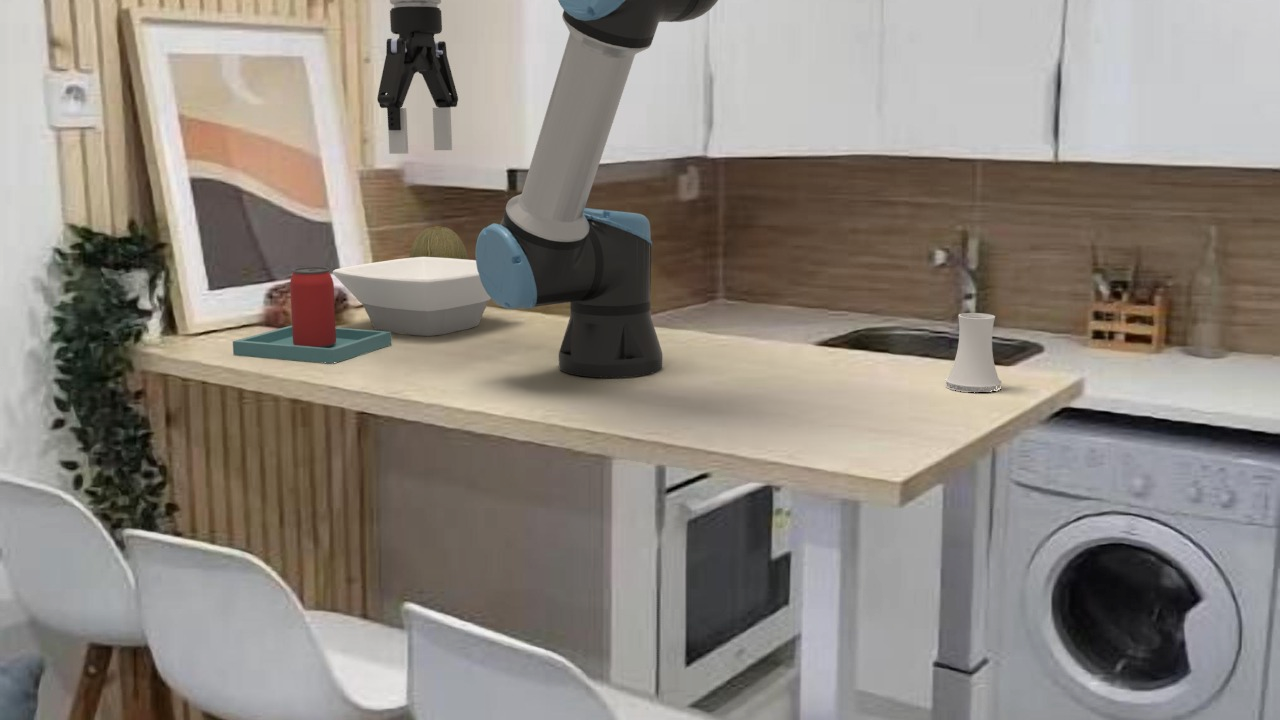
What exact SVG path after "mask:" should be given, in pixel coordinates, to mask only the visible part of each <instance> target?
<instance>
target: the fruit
mask: <svg viewBox="0 0 1280 720" xmlns="http://www.w3.org/2000/svg"><path fill="white" fill-rule="evenodd" d="M414 257H438V258H453V259H465V260H470V258H469V253H468V252H467V248H466V246H465V244H464V242H463V240H462V239H461V238H460V236H459V234H457V233H456V232H455V231H454V230H453V229H451V228H449V227H446V226H440V225H436V226H434V227H433V226H431V227H427V228H425V229H423V230H422V231H421V232H420V233H419V234H418V235H417V236H416V238H415V240H414V241H413V242H412V245H411V248H410V251H409V257H408V258H414Z"/></svg>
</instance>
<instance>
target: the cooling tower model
mask: <svg viewBox="0 0 1280 720" xmlns="http://www.w3.org/2000/svg"><path fill="white" fill-rule="evenodd" d="M957 317H958V325H959V326H958V329H959V333H958V335H959V336H958V344H957V351H956V354H955V358H954V361H953V365H952V368H951V370H950V372H949V374H948V376H947V377H946V378H945V379H944V381H945V384H944V387H945V386H946V387H947V389H948V388H949V390H951V391H955V390H956V391H955V392H960V391H961V392H962V393H968V392H974V393H973V394H976V393H975V392H990V391H991V390H992V391H994V389H995V390H997V389H998V388H1000V386H1001V385H1002V383H1003V382H1002V380H1000V378H999V376H998V373H997V370H996V365H995V362H994V361H995V360H994V355H993V354H994V353H993V331H994V324H995V318H996V315H993V314H990V313H983V312H981V313H980V312H967V313H966V312H964V313H959V314H958V316H957ZM996 386H997V389H996ZM946 387H945V388H946ZM961 392H960V393H961Z"/></svg>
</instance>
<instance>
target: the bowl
mask: <svg viewBox="0 0 1280 720" xmlns="http://www.w3.org/2000/svg"><path fill="white" fill-rule="evenodd" d="M332 274H333V276H334V277H335V278H336V279H337V280H338V281H339V282H340V283H341V284H342V285H343V286H344V287H345V288H346V289H347V291H349V292H350V293H351V294H352V296H353V297H354V298H355V299H356V300H357V301H358V302H360V303H361V305H362V306H363V308H364V310H365V312H366V314H367V317H368V318H369V320H370V322H371V324H372V327H373V328H374V329H375V330H377V331H386V332H391V334H392V333H393V334H399V335H400V334H401V335H407V336H416V337H417V336H419V337H433V336H441V335H445V334H447V335H448V334H451V333H456V332H461V331H464V330H469V329H473V328H475V327H477V326H479V324H480V322H481V319H482V317H483V315H484V312H485V310H486V307H487V305H488V303H489V301H490V300H492V299H491V298H490V296H489V295H488V294H487V292H486V290H485V289H484V287H483V285H482V283H481V280H480V276H479V273H478V270H477V265H476V259H469V260H465V259H453V258H438V257H414V258H409V257H407V258H397V259H388V260H384V261H376V262H369V263H368V262H367V263H362V264H356V265H350V266H344V267H340V268H336V269H334V270H332Z"/></svg>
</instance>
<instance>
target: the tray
mask: <svg viewBox="0 0 1280 720" xmlns="http://www.w3.org/2000/svg"><path fill="white" fill-rule="evenodd" d="M388 346H392V332H386V331H382V330H373V329H362V328H361V329H358V328H346V327H336V343H335V344H334V345H332V346H330V347H327V348H322V347H310V346H299V345H294V344H293V333H292V324H290V325H288V326H284V327H280V328H276V329H274V330H269V331H265V332H262V333H258V334H254V335H251V336H247V337H244V338H243V337H242V338H241V339H235V340H232V351H233V356H243V357H255V358H265V359H274V358H276V360H277V359H278V360H287V361H297V362H307V361H311V362H310V363H318V362H323V363H322V364H329V363H334V362H338V361H341V362H343V361H342V360H344V361H347V360H350V359H353V358H356V357H359V356H362V355H365V354H368V353H371V352H374V351H378V350H381V349H382V348H383V349H384V348H386V347H388ZM346 359H347V360H346ZM324 362H326V363H324ZM338 363H339V362H338Z"/></svg>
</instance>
